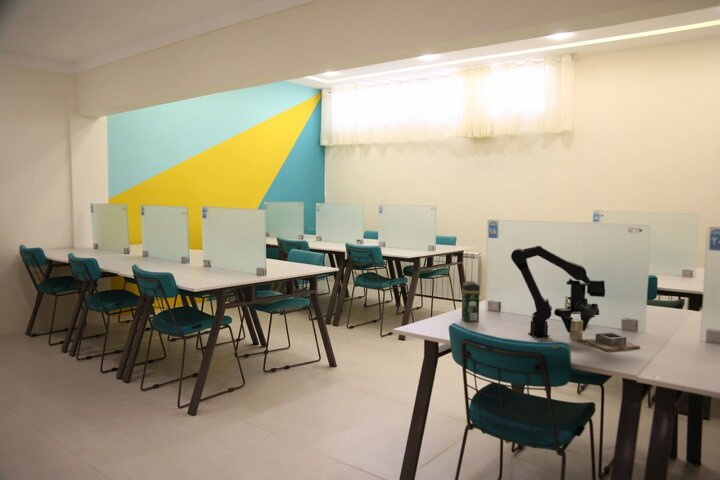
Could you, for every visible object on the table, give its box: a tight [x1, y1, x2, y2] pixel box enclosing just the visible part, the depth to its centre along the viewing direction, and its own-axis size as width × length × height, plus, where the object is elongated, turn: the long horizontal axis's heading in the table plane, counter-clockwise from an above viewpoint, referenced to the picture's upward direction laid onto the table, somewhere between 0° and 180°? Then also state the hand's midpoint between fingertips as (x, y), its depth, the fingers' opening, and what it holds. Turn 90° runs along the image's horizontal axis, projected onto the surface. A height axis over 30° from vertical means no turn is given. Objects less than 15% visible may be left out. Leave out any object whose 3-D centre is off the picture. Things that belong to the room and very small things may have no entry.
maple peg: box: [568, 318, 584, 341], centre depth 228 cm, size 4×4×8 cm
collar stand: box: [581, 331, 641, 353], centre depth 219 cm, size 16×14×4 cm
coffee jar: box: [461, 280, 481, 323], centre depth 260 cm, size 10×8×19 cm
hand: (576, 331), depth 228 cm, fingers open, 7 cm apart
